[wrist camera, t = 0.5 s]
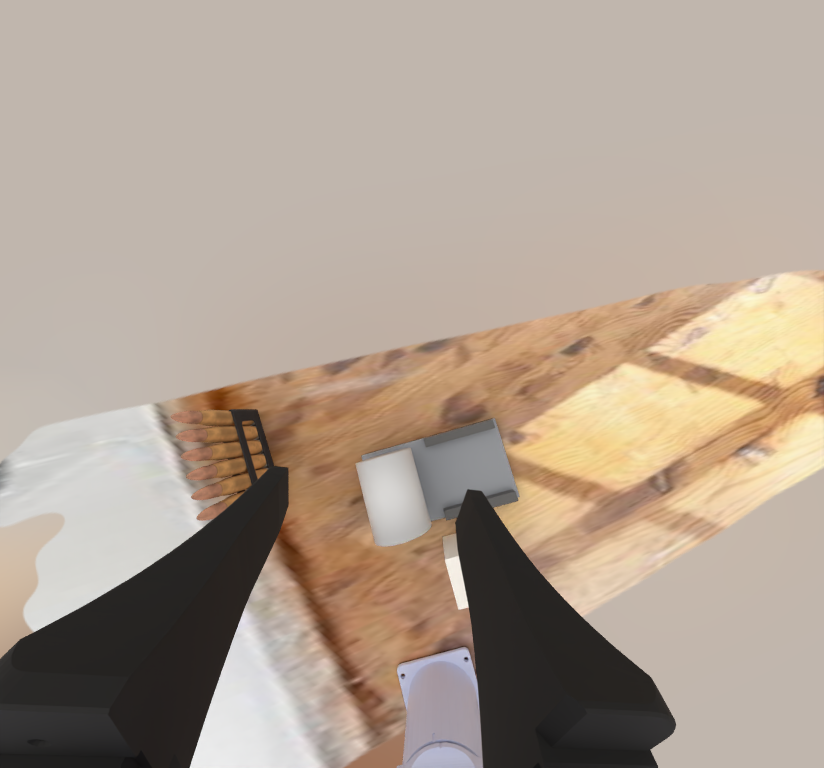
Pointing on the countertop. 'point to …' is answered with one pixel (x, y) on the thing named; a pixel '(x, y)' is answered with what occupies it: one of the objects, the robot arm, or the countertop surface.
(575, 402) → the countertop surface
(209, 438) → the ammunition clip
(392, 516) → the motor mount
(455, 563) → the block
